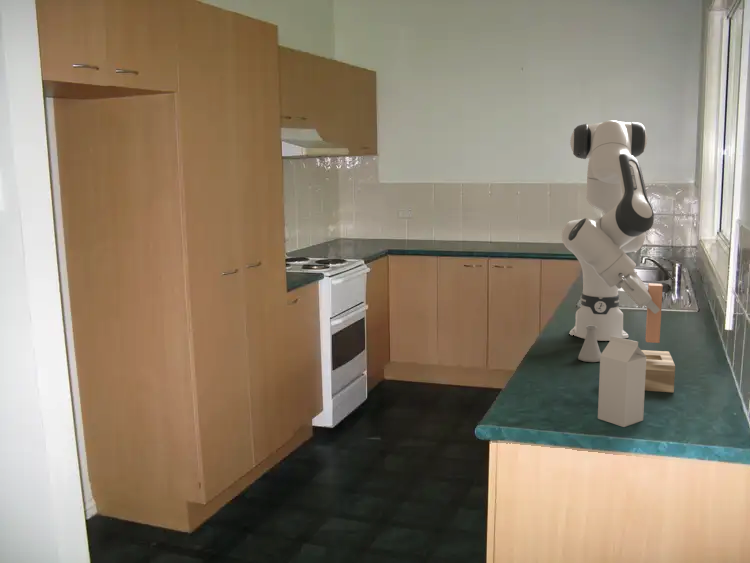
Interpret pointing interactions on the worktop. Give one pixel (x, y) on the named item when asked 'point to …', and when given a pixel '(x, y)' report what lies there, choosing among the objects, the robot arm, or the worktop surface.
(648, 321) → the long pin
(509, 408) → the worktop surface
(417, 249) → the worktop surface
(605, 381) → the milk carton
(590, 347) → the flask
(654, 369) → the tan block with hole
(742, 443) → the worktop surface
